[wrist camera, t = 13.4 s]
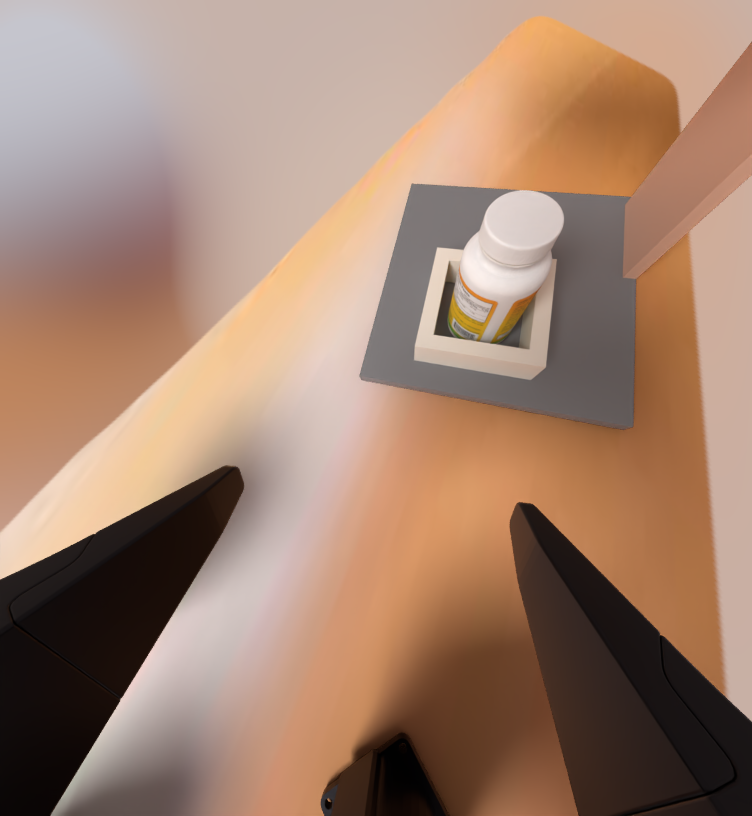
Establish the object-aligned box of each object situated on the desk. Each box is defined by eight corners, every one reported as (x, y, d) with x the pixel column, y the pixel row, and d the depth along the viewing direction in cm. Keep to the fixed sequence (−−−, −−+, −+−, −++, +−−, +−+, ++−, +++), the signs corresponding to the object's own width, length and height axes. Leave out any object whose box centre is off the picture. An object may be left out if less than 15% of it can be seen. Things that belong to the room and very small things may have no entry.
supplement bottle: (508, 294, 24) (572, 174, 15) (514, 349, 23) (588, 256, 13) (445, 296, 25) (468, 183, 15) (447, 350, 23) (473, 262, 14)
